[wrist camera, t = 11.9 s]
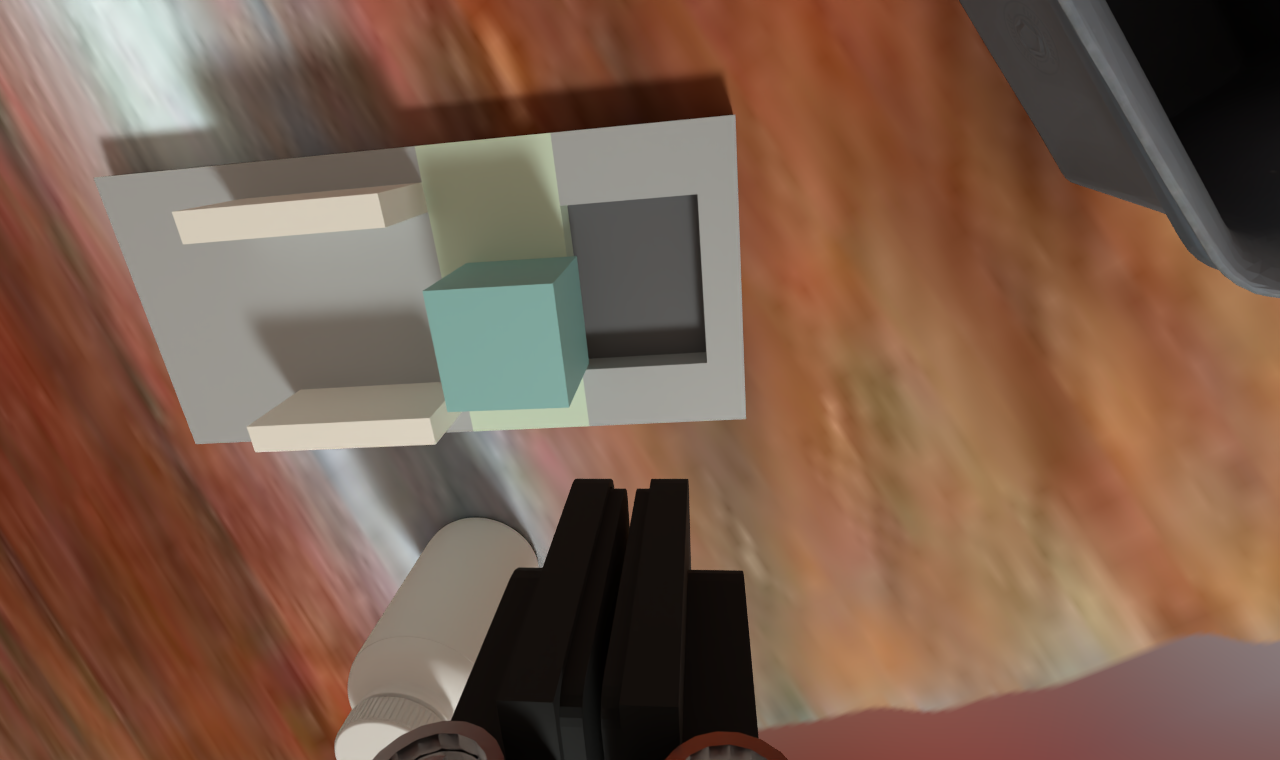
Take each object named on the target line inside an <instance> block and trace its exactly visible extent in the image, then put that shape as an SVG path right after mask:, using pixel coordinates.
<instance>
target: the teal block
mask: <svg viewBox="0 0 1280 760" xmlns="http://www.w3.org/2000/svg"><path fill="white" fill-rule="evenodd" d="M422 292H423V297H424V302H425V307H426V311H427V316H428V321H429V326H430V331H431V335H432V340H433V345H434V350H435V355H436V360H437V364H438V369H439V374H440V379H441V384H442V389H443V393H444V398H445V403H446V408H447V412H466V411H492V410H519V409H546V408H569V407H570V405H571V402H572V400H573V398H574V396H575V393H576V391H577V389H578V387H579V384H580V382H581V380H582V378H583V376H584V373H585V371H586V369H587V367H588V364H589V358H588V349H587V341H586V332H585V323H584V315H583V306H582V297H581V289H580V280H579V271H578V263H577V256H570V257H554V258H538V259H522V260H506V261H490V262H474V263H466V264H464V265H462V266H461V267H459V268H458V269H456V270H455V271H453V272H451V273H450V274H448V275H447V276H445V277H444V278H442V279H441V280H439V281H437V282H436V283H434V284H433V285H431V286H430V287H428V288H426V289H425V290H423V291H422Z"/></svg>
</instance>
